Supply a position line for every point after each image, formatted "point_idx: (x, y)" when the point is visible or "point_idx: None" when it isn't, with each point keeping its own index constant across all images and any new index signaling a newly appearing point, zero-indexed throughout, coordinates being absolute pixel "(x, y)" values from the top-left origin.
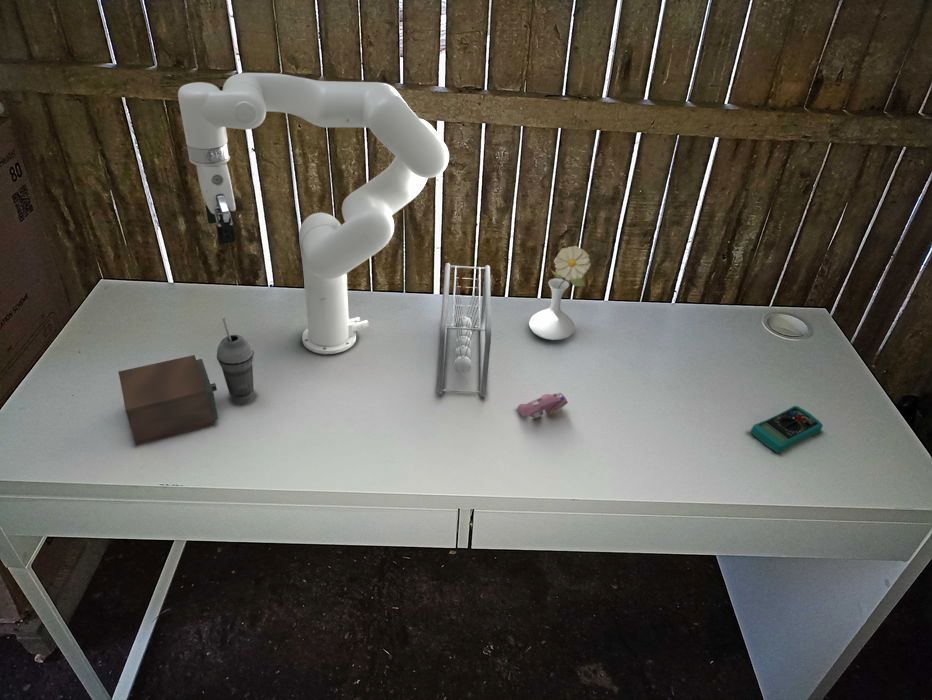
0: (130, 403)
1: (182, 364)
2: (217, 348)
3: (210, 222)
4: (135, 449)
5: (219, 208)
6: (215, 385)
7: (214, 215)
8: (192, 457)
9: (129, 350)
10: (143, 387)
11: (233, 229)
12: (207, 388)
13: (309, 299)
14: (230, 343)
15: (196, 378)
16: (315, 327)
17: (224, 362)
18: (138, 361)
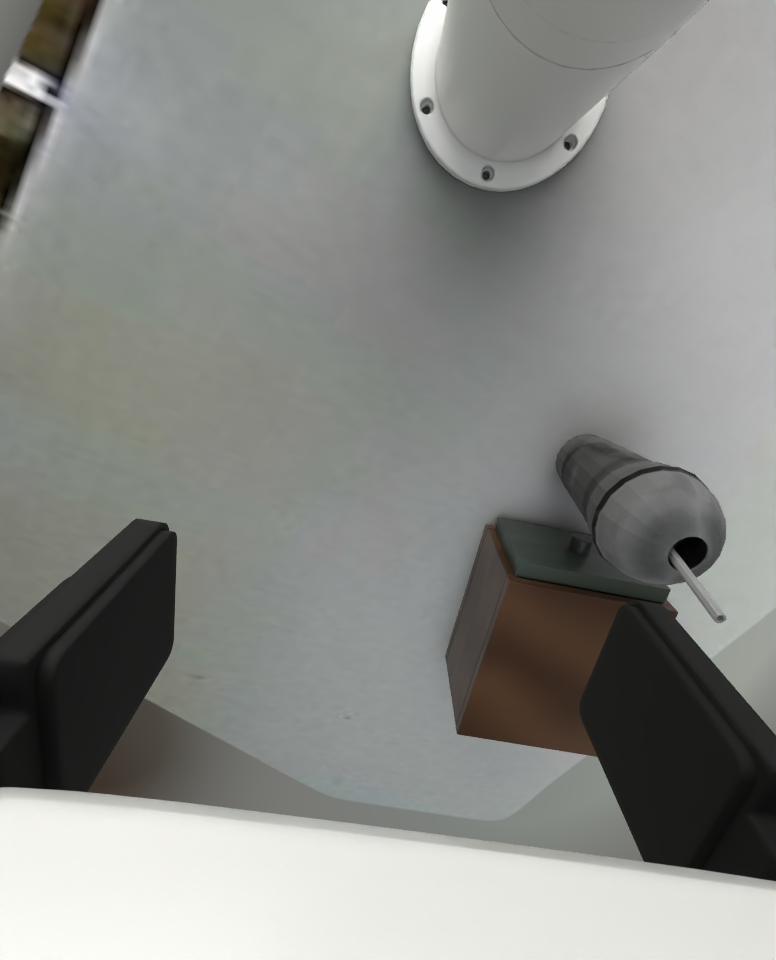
0: (592, 746)
1: (531, 620)
2: (628, 575)
3: (170, 649)
4: None
5: (87, 656)
6: (591, 543)
7: (136, 657)
8: (677, 614)
9: (242, 599)
10: (556, 713)
11: (740, 703)
12: (651, 596)
13: (583, 91)
14: (703, 568)
15: (614, 614)
16: (559, 131)
17: (673, 567)
18: (298, 597)
